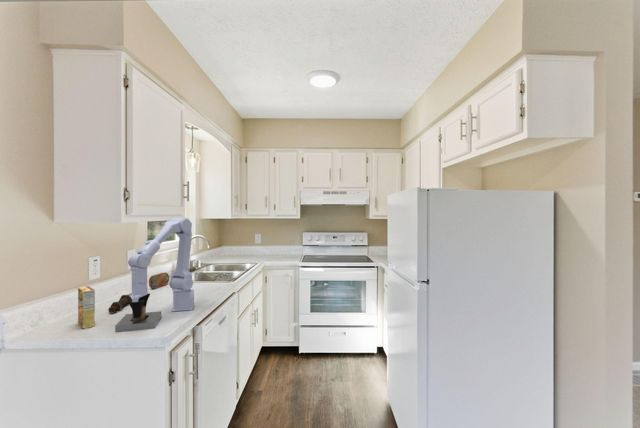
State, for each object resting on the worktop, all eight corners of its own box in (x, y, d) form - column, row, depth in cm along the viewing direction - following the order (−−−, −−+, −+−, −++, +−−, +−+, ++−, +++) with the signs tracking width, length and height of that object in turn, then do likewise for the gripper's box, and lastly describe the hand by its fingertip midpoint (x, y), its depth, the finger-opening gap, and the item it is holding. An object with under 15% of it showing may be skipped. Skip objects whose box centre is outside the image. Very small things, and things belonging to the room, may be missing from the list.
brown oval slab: (152, 290, 187) (152, 276, 187) (147, 290, 188) (147, 276, 187) (169, 284, 202) (169, 271, 201) (165, 284, 202) (165, 271, 202)
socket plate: (161, 316, 141) (161, 311, 141) (154, 328, 127) (154, 322, 127) (126, 320, 137) (126, 314, 136) (115, 332, 123) (115, 325, 123)
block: (145, 322, 134) (145, 305, 134) (143, 325, 130) (143, 308, 130) (135, 323, 133) (135, 306, 133) (132, 326, 129) (132, 309, 129)
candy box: (77, 324, 132) (77, 287, 132) (89, 321, 135) (89, 285, 135) (82, 329, 126) (82, 291, 126) (95, 326, 129) (95, 289, 129)
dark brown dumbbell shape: (109, 318, 144) (124, 307, 159) (120, 312, 145) (134, 301, 160) (102, 307, 144) (118, 297, 158) (113, 301, 144) (127, 292, 159)
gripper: (133, 279, 137) (133, 310, 138) (123, 287, 123) (123, 321, 124) (151, 278, 139) (151, 308, 140) (143, 285, 126) (143, 319, 126)
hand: (139, 314), depth 132 cm, fingers open, 7 cm apart
